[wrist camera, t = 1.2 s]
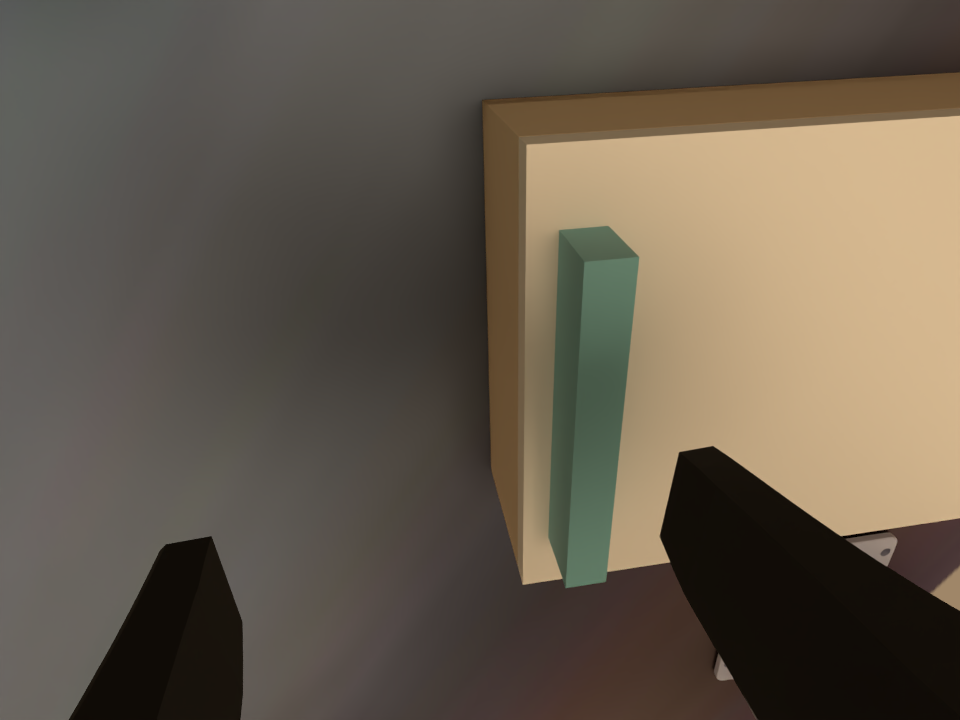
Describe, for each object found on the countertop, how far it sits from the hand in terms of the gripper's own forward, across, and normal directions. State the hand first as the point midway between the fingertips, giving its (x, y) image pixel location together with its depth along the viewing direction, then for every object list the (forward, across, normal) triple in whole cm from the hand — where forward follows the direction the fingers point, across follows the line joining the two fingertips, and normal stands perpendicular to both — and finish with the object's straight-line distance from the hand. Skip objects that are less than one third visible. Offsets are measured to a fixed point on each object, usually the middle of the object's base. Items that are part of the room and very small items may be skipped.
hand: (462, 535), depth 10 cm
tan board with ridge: (+8, -14, +3) cm, 16 cm away
